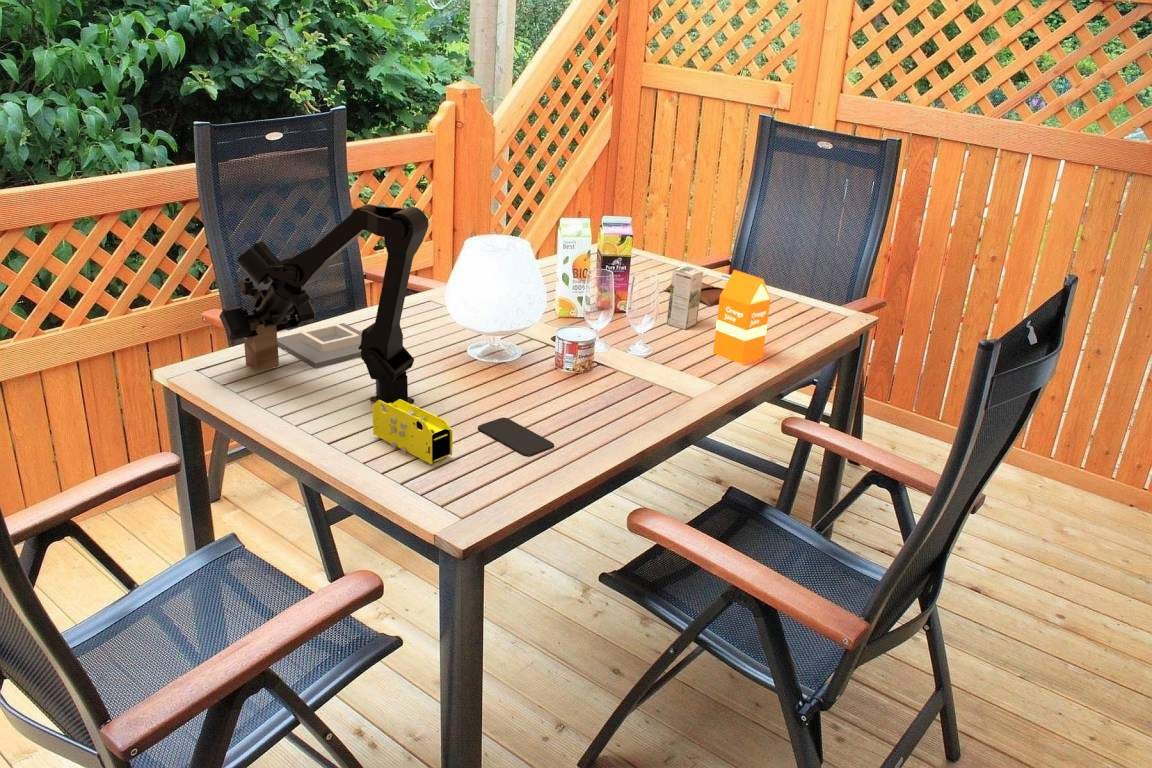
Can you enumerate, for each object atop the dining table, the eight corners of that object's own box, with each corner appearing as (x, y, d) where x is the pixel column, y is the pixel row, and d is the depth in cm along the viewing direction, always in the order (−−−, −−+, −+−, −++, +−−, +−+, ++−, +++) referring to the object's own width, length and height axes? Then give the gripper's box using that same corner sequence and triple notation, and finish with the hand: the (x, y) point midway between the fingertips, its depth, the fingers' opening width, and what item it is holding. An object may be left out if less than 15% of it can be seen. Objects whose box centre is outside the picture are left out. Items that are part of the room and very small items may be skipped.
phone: (526, 456, 173) (474, 426, 182) (526, 460, 173) (474, 430, 183) (557, 444, 178) (504, 416, 187) (556, 448, 178) (504, 420, 188)
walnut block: (279, 366, 205) (276, 322, 201) (257, 371, 202) (253, 327, 198) (267, 359, 208) (264, 315, 204) (246, 364, 205) (242, 320, 201)
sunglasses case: (660, 290, 269) (670, 268, 269) (672, 298, 275) (682, 277, 275) (711, 307, 258) (721, 284, 258) (723, 315, 263) (733, 293, 263)
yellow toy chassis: (371, 439, 177) (369, 397, 174) (395, 429, 181) (394, 389, 178) (429, 469, 167) (428, 426, 164) (453, 458, 171) (453, 416, 168)
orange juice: (741, 365, 220) (752, 281, 212) (712, 353, 226) (722, 271, 218) (763, 358, 225) (774, 276, 217) (734, 347, 231) (744, 266, 223)
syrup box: (677, 319, 247) (683, 264, 242) (697, 324, 244) (703, 269, 238) (666, 324, 243) (671, 269, 237) (686, 330, 240) (692, 274, 234)
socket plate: (387, 350, 217) (386, 336, 216) (315, 368, 205) (315, 354, 204) (343, 327, 228) (343, 315, 227) (274, 343, 217) (273, 330, 215)
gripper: (305, 257, 199) (282, 294, 211) (219, 271, 187) (199, 310, 198) (327, 303, 197) (302, 338, 209) (241, 321, 185) (220, 357, 196)
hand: (257, 334), depth 203 cm, fingers closed on walnut block, 5 cm apart
